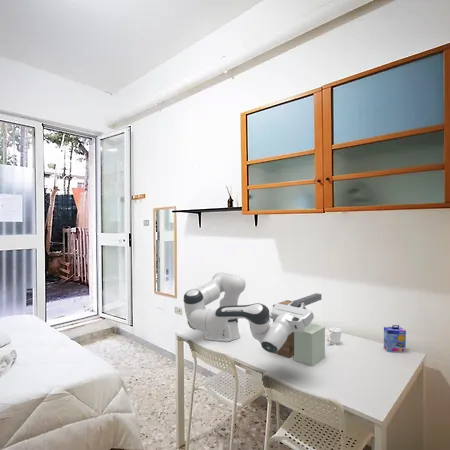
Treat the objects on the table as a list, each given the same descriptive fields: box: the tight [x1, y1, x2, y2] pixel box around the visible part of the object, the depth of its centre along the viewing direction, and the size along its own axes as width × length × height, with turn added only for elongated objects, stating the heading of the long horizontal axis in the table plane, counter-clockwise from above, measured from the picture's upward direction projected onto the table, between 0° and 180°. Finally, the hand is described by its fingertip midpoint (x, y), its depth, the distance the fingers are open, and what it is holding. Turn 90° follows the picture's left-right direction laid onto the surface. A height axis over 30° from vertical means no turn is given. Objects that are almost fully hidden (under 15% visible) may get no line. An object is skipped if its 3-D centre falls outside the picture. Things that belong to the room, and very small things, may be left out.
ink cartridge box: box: [383, 324, 407, 353], centre depth 166 cm, size 10×6×14 cm, turn 87°
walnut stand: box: [272, 299, 294, 359], centre depth 165 cm, size 14×10×26 cm
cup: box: [326, 327, 343, 346], centre depth 175 cm, size 7×10×8 cm
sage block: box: [293, 322, 326, 367], centre depth 156 cm, size 14×10×16 cm
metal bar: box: [292, 293, 322, 308], centre depth 154 cm, size 24×3×3 cm, turn 136°
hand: (299, 302), depth 148 cm, fingers closed on metal bar, 3 cm apart
